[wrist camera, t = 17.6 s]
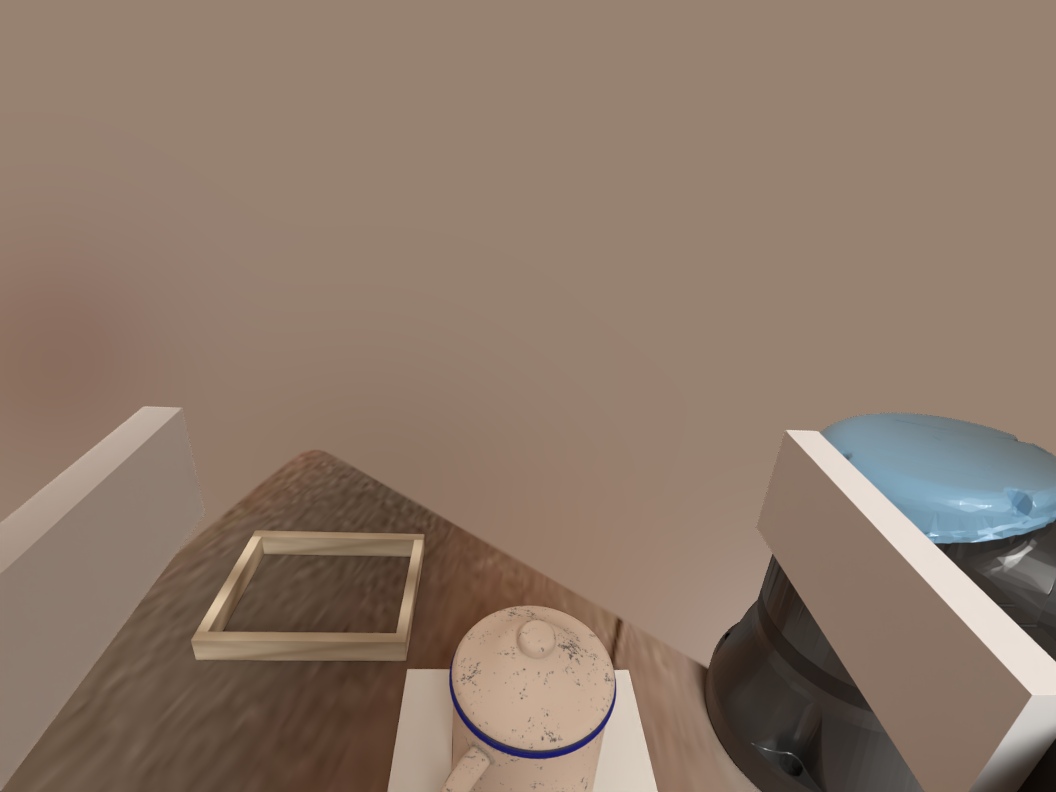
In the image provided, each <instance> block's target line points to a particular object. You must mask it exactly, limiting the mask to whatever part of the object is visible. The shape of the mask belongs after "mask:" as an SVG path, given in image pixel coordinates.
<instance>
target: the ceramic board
mask: <svg viewBox="0 0 1056 792" xmlns="http://www.w3.org/2000/svg"><path fill="white" fill-rule="evenodd" d="M614 672H615V678H616V699H615V704H614V708H613V711H612V714H611V716H610V718H609V720H608V722H607V724H606V726H605V731H604V736H603V741H602V746H601V751H600V756H599V761H598V766H597V771H596V776H595V781H594V786H593V791H592V792H658V791H657V787H656V783H655V779H654V775H653V771H652V766H651V762H650V758H649V754H648V750H647V746H646V741H645V737H644V733H643V729H642V725H641V721H640V716H639V712H638V708H637V704H636V700H635V695H634V691H633V687H632V683H631V679H630V675H629V670H614ZM449 673H450V669H407V675H406V681H405V687H404V693H403V699H402V706H401V712H400V718H399V724H398V730H397V736H396V742H395V749H394V755H393V761H392V767H391V773H390V779H389V786H388V792H440V790H441V788H442V786H443V784H444V783H445V781H446V779H447V778H448V776H449V774H450V773H451V771H452V729H453V701H452V697H451V693H450V686H449Z"/></svg>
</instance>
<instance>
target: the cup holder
mask: <svg viewBox="0 0 1056 792" xmlns="http://www.w3.org/2000/svg"><path fill="white" fill-rule="evenodd" d="M264 554H295V555H348V556H402V557H411V560H410V565H409V570H408V575H407V580H406V585H405V590H404V596H403V601H402V606H401V611H400V616H399V621H398V626H397V631H396V633H312V632H223V630H224V628H225V626H226V625H227V623H228V621H229V619H230V617H231V615H232V613H233V611H234V610H235V608H236V606H237V604H238V602H239V600H240V598H241V597H242V595H243V593H244V591H245V589H246V587H247V585H248V583H249V582H250V580H251V578H252V576H253V574H254V572H255V570H256V569H257V567H258V565H259V563H260V561H261V559H262V557H263V555H264ZM423 557H424V534H390V533H344V532H298V531H255V532H254V534H253V536H252V538H251V539H250V541H249V543H248V544H247V546H246V548H245V549H244V551H243V553H242V555H241V556H240V558H239V560H238V561H237V563H236V565H235V566H234V568H233V570H232V572H231V573H230V575H229V577H228V578H227V580H226V582H225V584H224V585H223V587H222V589H221V590H220V592H219V594H218V595H217V597H216V599H215V601H214V602H213V604H212V606H211V607H210V609H209V611H208V612H207V614H206V616H205V618H204V619H203V621H202V623H201V624H200V626H199V628H198V629H197V631H196V633H195V635H194V636H193V638H192V640H191V642H192V646H193V650H194V654H195V657H196V660H298V661H406V658H407V652H408V646H409V640H410V635H411V629H412V623H413V617H414V611H415V605H416V599H417V593H418V587H419V581H420V575H421V569H422V563H423Z"/></svg>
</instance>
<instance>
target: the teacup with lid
mask: <svg viewBox="0 0 1056 792" xmlns="http://www.w3.org/2000/svg"><path fill="white" fill-rule="evenodd" d="M449 686H450V693H451V697H452V701H453V729H452V771H451V773H450V774H449V776H448V778H447V779H446V781H445V783H444V784H443V786H442V788H441V790H440V792H592V791H593V786H594V781H595V776H596V771H597V766H598V761H599V756H600V751H601V746H602V741H603V736H604V731H605V726H606V724H607V722H608V720H609V718H610V716H611V714H612V711H613V708H614V704H615V699H616V678H615V672H614V669H613V666H612V662H611V659H610V657H609V655H608V653H607V651H606V649H605V647H604V646H603V644H602V643H601V641H600V640H599V639H598V637H597V636H596V635H595V634H594V633H593V632H592V631H591V630H590V629H589V628H588V627H587V626H586V625H584V624H583V623H582V622H580V621H579V620H577V619H575V618H574V617H572V616H570V615H568V614H566V613H563V612H561V611H558V610H555V609H551V608H547V607H541V606H516V607H510V608H506V609H503V610H500V611H497V612H495V613H492V614H490V615H488V616H487V617H485V618H483V619H482V620H481V621H479V622H478V623H477V624H476V625H474V626H473V627H472V628H471V629H470V630H469V631H468V632H467V634H466V635H465V636H464V637H463V639H462V641H461V642H460V644H459V646H458V647H457V649H456V651H455V654H454V656H453V659H452V662H451V667H450V673H449Z"/></svg>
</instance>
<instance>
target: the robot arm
mask: <svg viewBox="0 0 1056 792" xmlns="http://www.w3.org/2000/svg"><path fill="white" fill-rule="evenodd" d="M204 515H205V511H204V506H203V502H202V497H201V492H200V488H199V483H198V479H197V474H196V469H195V465H194V460H193V455H192V451H191V446H190V442H189V437H188V433H187V428H186V423H185V419H184V414H183V409H182V408H174V407H147V406H144V407H143V408H141V409H140V410H139V411H138V412H136V413H135V414H134V415H133V416H131V417H130V418H129V419H128V420H127V421H125V422H124V423H123V424H122V425H120V426H119V427H118V428H117V429H116V430H114V431H113V432H112V433H111V434H109V435H108V436H107V437H106V438H104V439H103V440H102V441H101V442H100V443H98V444H97V445H96V446H95V447H93V448H92V449H91V450H90V451H88V452H87V453H86V454H85V455H83V456H82V457H81V458H80V459H79V460H77V461H76V462H75V463H74V464H72V465H71V466H70V467H69V468H67V469H66V470H65V471H64V472H63V473H61V474H60V475H59V476H58V477H56V478H55V479H54V480H53V481H51V482H50V483H49V484H48V485H46V486H45V487H44V488H43V489H42V490H40V491H39V492H38V493H37V494H35V495H34V496H33V497H32V498H30V499H29V500H28V501H27V502H25V503H24V504H23V505H22V506H21V507H19V508H18V509H17V510H16V511H14V512H13V513H12V514H11V515H9V516H8V517H7V518H6V519H5V520H3V521H2V522H1V523H0V791H1V790H2V789H3V787H4V786H5V785H6V783H7V782H8V781H9V779H10V778H11V777H12V775H13V774H14V772H15V771H16V770H17V768H18V767H19V766H20V764H21V763H22V762H23V760H24V759H25V758H26V756H27V755H28V754H29V752H30V751H31V749H32V748H33V747H34V745H35V744H36V743H37V741H38V740H39V739H40V737H41V736H42V735H43V733H44V732H45V731H46V729H47V728H48V726H49V725H50V724H51V722H52V721H53V720H54V718H55V717H56V716H57V714H58V713H59V712H60V710H61V709H62V708H63V706H64V705H65V703H66V702H67V701H68V699H69V698H70V697H71V695H72V694H73V693H74V691H75V690H76V689H77V687H78V686H79V685H80V683H81V682H82V680H83V679H84V678H85V676H86V675H87V674H88V672H89V671H90V670H91V668H92V667H93V666H94V664H95V663H96V662H97V660H98V659H99V657H100V656H101V655H102V653H103V652H104V651H105V649H106V648H107V647H108V645H109V644H110V643H111V641H112V640H113V639H114V637H115V636H116V634H117V633H118V632H119V630H120V629H121V628H122V626H123V625H124V624H125V622H126V621H127V620H128V618H129V617H130V616H131V614H132V613H133V611H134V610H135V609H136V607H137V606H138V605H139V603H140V602H141V601H142V599H143V598H144V597H145V595H146V594H147V593H148V591H149V590H150V588H151V587H152V586H153V584H154V583H155V582H156V580H157V579H158V578H159V576H160V575H161V574H162V572H163V571H164V570H165V568H166V567H167V565H168V564H169V563H170V561H171V560H172V559H173V557H174V556H175V555H176V553H177V552H178V551H179V549H180V548H181V547H182V545H183V544H184V542H185V541H186V540H187V538H188V537H189V536H190V534H191V533H192V531H193V530H194V529H195V528H196V526H197V525H198V524H199V522H200V521H201V519H202V518H203V516H204ZM756 528H757V530H758V531H759V533H760V534H761V536H762V538H763V539H764V541H765V542H766V544H767V545H768V547H769V548H770V550H771V552H772V553H773V554H772V557H771V560H770V564H769V567H768V570H767V573H766V576H765V578H764V582H763V585H762V588H761V591H760V594H759V597H758V600H757V601H756V602H755V603H754V604H753V605H752V606H751V607H750V608H749V610H748V611H747V612H746V614H745V615H744V617H743V618H742V619H741V621H740V622H738V623H737V624H735V625H734V626H732V627H731V628H730V629H729V630H728V631H727V632H726V633H725V634H724V635H723V636H722V638H721V639H720V641H719V642H718V644H717V646H716V648H715V650H714V652H713V656H712V659H711V662H710V665H709V669H708V672H707V676H706V683H705V696H706V704H707V708H708V713H709V716H710V719H711V722H712V724H713V727H714V729H715V731H716V733H717V735H718V737H719V739H720V741H721V743H722V744H723V746H724V748H725V749H726V751H727V752H728V754H729V755H730V757H731V758H732V759H733V761H734V762H735V763H736V764H737V766H738V767H739V768H740V769H741V770H742V772H743V773H744V774H745V775H746V776H747V777H748V778H749V779H750V780H751V781H752V782H753V783H754V784H755V785H756V786H757V787H758V788H759V789H760V790H761V791H762V792H1056V456H1054V455H1053V454H1051V453H1049V452H1048V451H1046V450H1045V449H1043V448H1041V447H1039V446H1037V445H1035V444H1029V443H1025V442H1020V441H1018V440H1017V438H1016V437H1015V436H1014V435H1012V434H1009V433H1006V432H1003V431H1000V430H997V429H993V428H990V427H986V426H982V425H978V424H975V423H970V422H966V421H961V420H957V419H951V418H945V417H939V416H932V415H922V414H909V413H880V414H867V415H860V416H855V417H850V418H847V419H844V420H841V421H838V422H836V423H834V424H832V425H830V426H828V427H827V428H825V429H824V430H823V431H821V432H820V433H819V432H818V431H800V430H799V431H798V430H785V432H784V436H783V439H782V442H781V446H780V449H779V452H778V456H777V459H776V462H775V466H774V469H773V472H772V476H771V479H770V482H769V486H768V489H767V492H766V496H765V499H764V502H763V506H762V509H761V512H760V516H759V519H758V522H757V526H756Z"/></svg>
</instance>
